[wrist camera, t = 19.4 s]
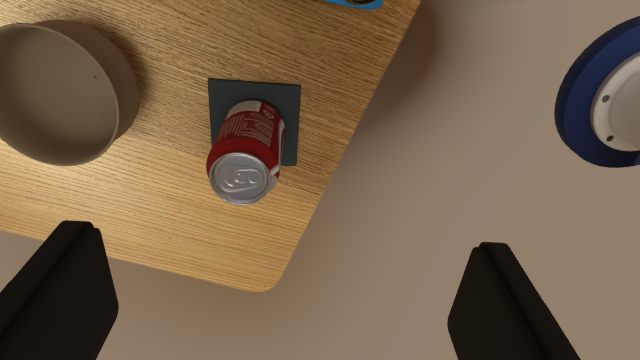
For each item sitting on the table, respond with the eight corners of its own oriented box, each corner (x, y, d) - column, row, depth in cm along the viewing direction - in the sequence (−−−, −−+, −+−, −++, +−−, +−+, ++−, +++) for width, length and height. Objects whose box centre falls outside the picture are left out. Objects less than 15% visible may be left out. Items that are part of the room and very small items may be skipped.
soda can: (221, 98, 45) (195, 147, 35) (283, 96, 45) (275, 145, 35) (229, 152, 49) (208, 211, 39) (286, 151, 49) (280, 210, 39)
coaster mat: (300, 84, 45) (300, 86, 45) (296, 164, 50) (296, 166, 50) (208, 78, 45) (207, 79, 44) (213, 159, 50) (212, 161, 49)
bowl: (96, -20, 40) (37, -6, 31) (179, 93, 45) (149, 131, 37) (3, 44, 42) (-75, 73, 34) (92, 142, 48) (46, 188, 40)
